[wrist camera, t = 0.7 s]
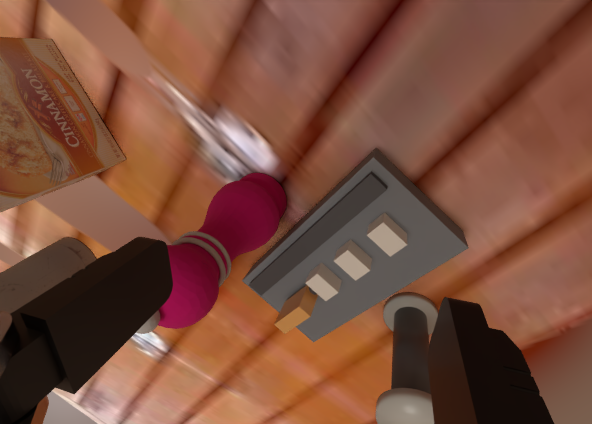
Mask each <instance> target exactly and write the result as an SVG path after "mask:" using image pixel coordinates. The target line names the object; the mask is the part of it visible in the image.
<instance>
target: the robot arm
mask: <svg viewBox="0 0 592 424" xmlns="http://www.w3.org/2000/svg"><path fill="white" fill-rule="evenodd" d="M172 289H173V279H172V272H171V266H170V259H169V253H168V247H167V245H166V243H165V242H163V241H160V240H155V239H150V238H145V237H137V238H135V239H134V240H132V241H130V242H129V243H127V244H126V245H124V246H122V247H121V248H119V249H118V250H116V251H115V252H112V253H109V254H107V255H104V256H102V257H100V258H98V259H97V260H95V261H94V262H92V263H90V264H89V265H87V266H86V267H85V269H81V270H79V271H78V272H76V273H74V274H73V275H72V277H71V278H66V279H65V280H63V281H62V282H60V283H59V284H57V285H55V286H54V287H52V288H51V289H49V290H47V291H46V292H44V293H43V294H41V295H39V296H38V297H36V298H35V299H33V300H31V301H30V302H28V303H27V304H25V305H24V306H22V307H20V308H19V309H17V310H16V311H14V312H12V313H8V312H6V311H0V424H43V420H44V417H45V415H46V412H47V408H48V404H49V401H48V397H47V394H49V393H50V392H51V391H52V390H53V389H54V388H55V387H56V388H58V389H61V390H64V391H67V392H69V393H72V394H75V393H76V392H77V391H78V390H79V389H80V388H81V387H82V386H83V385H84V384H85V383H86V382H87V381H88V380H89V379H90V378H91V377H92V376H93V375H94V374H95V373H96V372H97V371H98V370H99V369H100V368H101V367H102V366H103V365H104V364H105V363H106V362H107V361H108V360H109V359H110V358H111V357H112V356H113V355H114V354H115V353H116V352H117V351H118V350H119V349H120V348H121V347H122V346H123V345H124V344H125V343H126V342H127V341H128V340H129V339H130V338H131V337H132V336H133V335H134V334H135V333H136V332H137V331H138V330H139V329H140V328H141V327H142V326H143V325H144V324H145V323H146V322H147V321H148V320H149V319H150V318H151V317H152V316H153V315H154V314H155V313H156V312H157V311H158V310H159V309H160V308H161V307H162V306H163V305H164V304H165V303H166V301H167V300H168V299H169V297H170V295H171V292H172ZM428 372H429V381H430V390H431V398H432V407H433V416H434V424H554V422H553V420H552V418H551V416H550V414H549V411H548V409H547V407H546V405H545V402H544V400H543V398H542V397H541V396H540V395H539V389H538V387H537V385H536V383H535V381H534V378H533V377H531V372H530V369H529V367H528V365H527V363H526V361H525V359H524V356H523V354H522V352H521V350H520V349H519V348H518V347H517V346H516V345H515V344H514V343H513V341H512V340H511V339H510V338H509V337H508V336H507V335H506V334H505V333H504V332H503V331H501V330H497V329H492V328H489V327H488V324H487V321H486V319H485V316H484V313H483V311H482V308H481V306H480V305H479V304H477V303H472V302H467V301H462V300H457V299H452V298H447V297H445V298H444V299H443V301H442V303H441V306H440V310H439V313H438V317H437V320H436V324H435V327H434V330H433V334H432V337H431V341H430V345H429V351H428Z"/></svg>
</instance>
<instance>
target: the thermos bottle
mask: <svg viewBox="0 0 592 424" xmlns="http://www.w3.org/2000/svg"><path fill="white" fill-rule="evenodd" d="M95 260H96V258H95V256H94V254H93V253H92V252H91V250H90V249H89V248H88V247H87V246H85V245H84V244H83V243H81V242H80V241H78V240H76V239H74V238H69V237H66V238H62V239H61V240H59V241H57V242H55V243H53V244H51V245H50V246H48V247H46V248H44V249H42V250H40V251H39V252H37V253H35V254H33V255H31V256H30V257H28V258H26V259H24V260H22V261H21V262H19V263H17V264H16V265H14V266H12V267H11V268H9V269H7V270H5V271H3V272H1V273H0V311H6V312H8V313H12V312H14V311H16V310H17V309H19V308H20V307H22V306H24V305H25V304H27V303H28V302H30V301H31V300H33V299H35V298H36V297H38V296H39V295H41V294H43V293H44V292H46V291H47V290H49V289H51V288H52V287H54V286H55V285H57V284H59V283H60V282H62V281H63V280H65V279H66V278H71V277H72V275H73V274H74V273H76V272H78V271H79V270H81V269H85V267H86V266H87V265H89V264H90V263H92V262H94V261H95Z"/></svg>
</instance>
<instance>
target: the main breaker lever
mask: <svg viewBox="0 0 592 424" xmlns="http://www.w3.org/2000/svg"><path fill="white" fill-rule="evenodd" d="M317 297H318V294H317V293H316V292H315V291H313V290H312V289H311V288H310V287H309V286H308V285H306V286H305V287H304V288H302V289H301V290H300V291H298V292H297V293H296V294H294V295H293V296H292V297H291V298H289V299H288V300H287V301H285V303H284V305H283V307H282V309H281V311H280V313H279V315H278V317H277V319H276V322H275V324H274V325H275V326H276V327H277V328H279V329H280V330H281V331H282V332H283V333H284V334H286V333H287V332H289V331H290V330H292V329H293V328H295V327H296V326H297V325H299V324H300V323H302V322H303V321H305V320H306V319H308V318H309V317H311V314H312V311H313V308H314V305H315V303H316V300H317Z"/></svg>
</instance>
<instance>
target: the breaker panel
mask: <svg viewBox="0 0 592 424" xmlns="http://www.w3.org/2000/svg"><path fill="white" fill-rule="evenodd" d="M466 249H468V245H467V242H466V239H465V236H464V233H463V231H462V230H461V229H460V228H459V227H458V226H457V225H456V224H455V223H454V222H453V221H452V220H451V219H450V218H448V217H447V216H446V215H445V214H444V213H443V212H442V211H441V210H440V209H439V208H438V207H437V206H436V205H435V204H434V203H433V202H432V201H431V200H430V199H429V198H428V197H427V196H426V195H425V194H423V193H422V192H421V191H420V190H419V189H418V188H417V187H416V186H415V185H414V184H413V183H412V182H411V181H410V180H409V179H408V178H407V177H406V176H405V175H404V174H403V173H402V172H401V171H399V170H398V169H397V168H396V167H395V166H394V165H393V164H392V163H391V162H390V161H389V160H388V159H387V158H386V157H385V156H384V155H383V154H382V153H381V152H380V151H379V150H378V149H377V148H375V149H374V150H373V151H372V152H371V153H370V154H369V155H368V156H367V157H366V158H365V159H364V160H363V161H362V162H361V163H360V164H359V165H358V166H357V167H356V168H355V169H354V170H353V171H351V172H350V173H349V174H348V175H347V176H346V177H345V178H344V179H343V180H342V181H341V182H340V183H339V184H338V185H337V186H336V187H335V188H334V189H333V190H332V191H331V192H330V193H328V194H327V195H326V196H325V197H324V198H323V199H322V200H321V201H320V202H319V203H318V204H317V205H316V206H315V207H314V208H313V209H312V210H311V211H310V212H309V213H308V214H307V215H305V216H304V217H303V218H302V219H301V220H300V221H299V222H298V223H297V224H296V225H295V226H294V227H293V228H292V229H291V230H290V231H289V232H288V233H287V234H286V235H285V236H284V237H282V238H281V239H280V240H279V241H278V242H277V243H276V244H275V245H274V246H273V247H272V248H271V249H270V250H269V251H268V252H267V253H266V254H265V255H264V256H263V257H262V258H261V259H260V260H258V261H257V262H256V263H255V264H254V265H253V266H252V267H251V269H250V270H249V272H248V273H247V275H246V276H245V277H244V279H243V280H242V281H243V282H244V283H245V284H247V285H248V286H249V287H250V288H251V289H252V290H254V291H255V292H256V293H257V294H258V295H259V296H261V297H262V298H263V299H264V300H265V301H266V302H267V303H269V304H270V305H271V306H272V307H273V308H274V309H276V310H277V311H278V312H279V313H280V311H281V309H282V307H283V305H284V303H285V301H287V300H288V299H289V298H291V297H292V296H293V295H294V294H296V293H297V292H298V291H300V290H301V289H302V288H304V287H305V286H306V285H308V286H309V287H310V288H311V289H312V290H313V291H315V292H316V293H317V294H318V297H317V300H316V303H315V305H314V308H313V311H312V314H311V317H309V318H308V319H306V320H305V321H303V322H302V323H300V324H299V325H297V326H296V327H297V328H298V329H299V330H300V331H301V332H302V333H304V334H305V335H306V336H307V337H308V338H309V339H311V340H312V341H313V342H315V341H316V340H318V339H320V338H321V337H323V336H325V335H326V334H328V333H329V332H331V331H333V330H334V329H336V328H338V327H339V326H341V325H343V324H344V323H346V322H348V321H349V320H351V319H352V318H354V317H356V316H357V315H359V314H361V313H362V312H364V311H366V310H367V309H369V308H371V307H372V306H374V305H375V304H377V303H379V302H380V301H382V300H384V299H385V298H387V297H389V296H390V295H392V294H394V293H395V292H397V291H399V290H400V289H402V288H403V287H405V286H407V285H408V284H410V283H412V282H413V281H415V280H417V279H418V278H420V277H422V276H423V275H425V274H426V273H428V272H430V271H431V270H433V269H435V268H436V267H438V266H440V265H441V264H443V263H445V262H446V261H448V260H449V259H451V258H453V257H454V256H456V255H458V254H459V253H461V252H463V251H464V250H466Z"/></svg>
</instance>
